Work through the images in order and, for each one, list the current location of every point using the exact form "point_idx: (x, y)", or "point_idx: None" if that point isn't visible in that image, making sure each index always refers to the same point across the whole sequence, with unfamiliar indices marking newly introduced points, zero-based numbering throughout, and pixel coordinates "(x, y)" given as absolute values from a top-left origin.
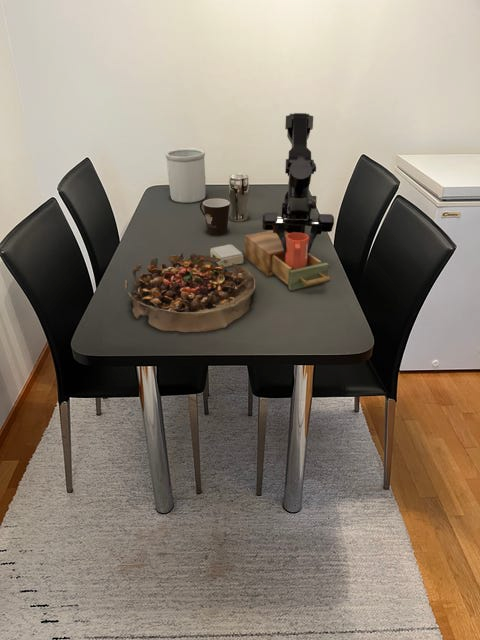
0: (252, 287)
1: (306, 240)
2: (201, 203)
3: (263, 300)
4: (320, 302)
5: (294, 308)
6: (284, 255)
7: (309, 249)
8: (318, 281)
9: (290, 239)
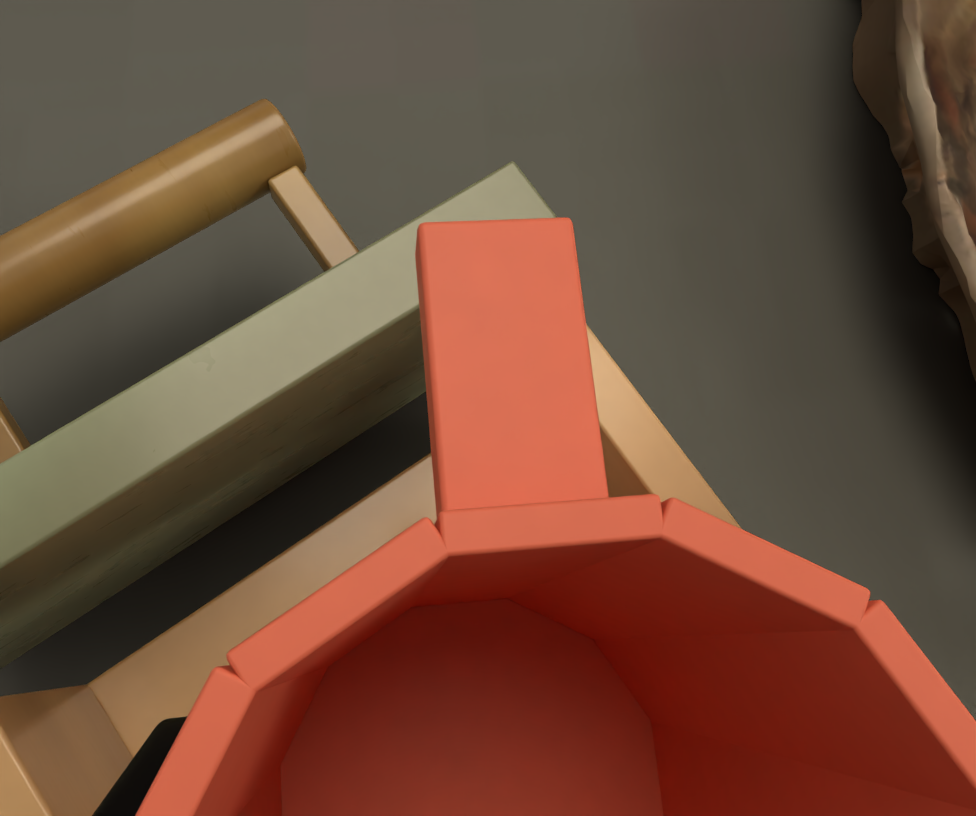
0: (937, 77)
1: (200, 695)
2: None
3: (739, 127)
4: (114, 143)
5: (405, 5)
6: None
7: (146, 752)
8: (79, 196)
9: (843, 585)
